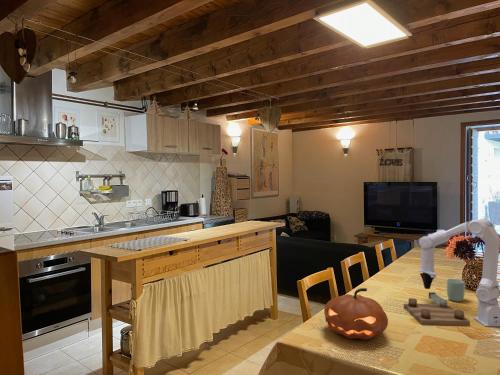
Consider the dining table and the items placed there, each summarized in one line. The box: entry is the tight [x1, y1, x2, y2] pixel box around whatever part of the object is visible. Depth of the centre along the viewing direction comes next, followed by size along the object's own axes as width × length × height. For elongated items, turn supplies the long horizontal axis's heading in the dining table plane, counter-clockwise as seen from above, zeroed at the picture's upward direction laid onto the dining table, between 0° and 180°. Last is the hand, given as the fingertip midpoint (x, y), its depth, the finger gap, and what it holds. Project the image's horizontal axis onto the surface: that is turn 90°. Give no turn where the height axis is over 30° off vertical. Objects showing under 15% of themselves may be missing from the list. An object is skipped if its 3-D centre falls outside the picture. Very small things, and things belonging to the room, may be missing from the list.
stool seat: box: [403, 297, 471, 327], centre depth 163 cm, size 20×20×5 cm
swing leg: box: [428, 291, 448, 307], centre depth 174 cm, size 13×3×3 cm, turn 179°
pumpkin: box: [323, 287, 389, 341], centre depth 145 cm, size 25×25×19 cm
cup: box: [446, 278, 466, 303], centre depth 184 cm, size 8×8×10 cm
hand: (427, 288), depth 178 cm, fingers closed
